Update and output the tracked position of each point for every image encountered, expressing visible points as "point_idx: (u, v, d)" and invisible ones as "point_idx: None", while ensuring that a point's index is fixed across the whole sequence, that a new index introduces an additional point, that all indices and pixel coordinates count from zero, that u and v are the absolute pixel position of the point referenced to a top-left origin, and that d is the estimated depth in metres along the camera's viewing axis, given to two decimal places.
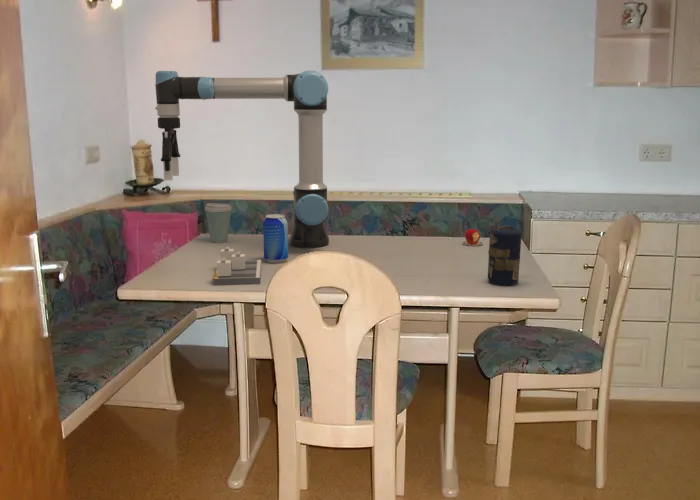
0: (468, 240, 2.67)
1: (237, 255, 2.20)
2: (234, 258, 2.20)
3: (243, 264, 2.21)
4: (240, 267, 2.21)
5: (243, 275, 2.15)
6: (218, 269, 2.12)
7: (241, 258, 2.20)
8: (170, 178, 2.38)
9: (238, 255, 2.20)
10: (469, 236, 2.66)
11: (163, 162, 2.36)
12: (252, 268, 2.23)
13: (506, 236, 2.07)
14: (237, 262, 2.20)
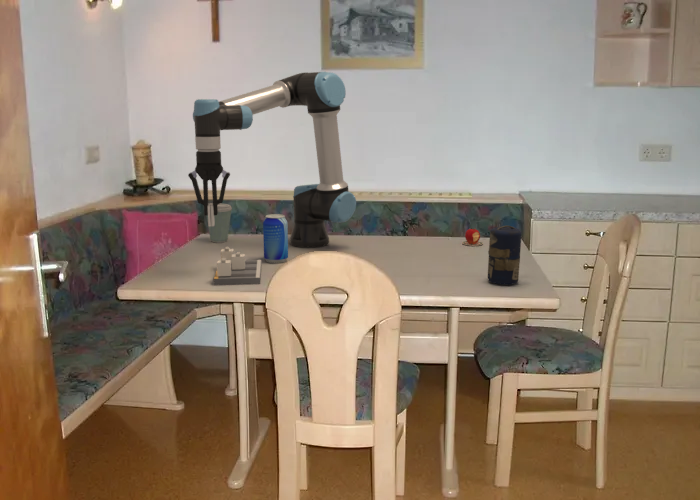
0: (468, 240, 2.67)
1: (237, 255, 2.20)
2: (234, 258, 2.20)
3: (243, 264, 2.21)
4: (240, 267, 2.21)
5: (243, 275, 2.15)
6: (218, 269, 2.12)
7: (241, 258, 2.20)
8: None
9: (238, 255, 2.20)
10: (469, 236, 2.66)
11: None
12: (252, 268, 2.23)
13: (506, 236, 2.07)
14: (237, 262, 2.20)
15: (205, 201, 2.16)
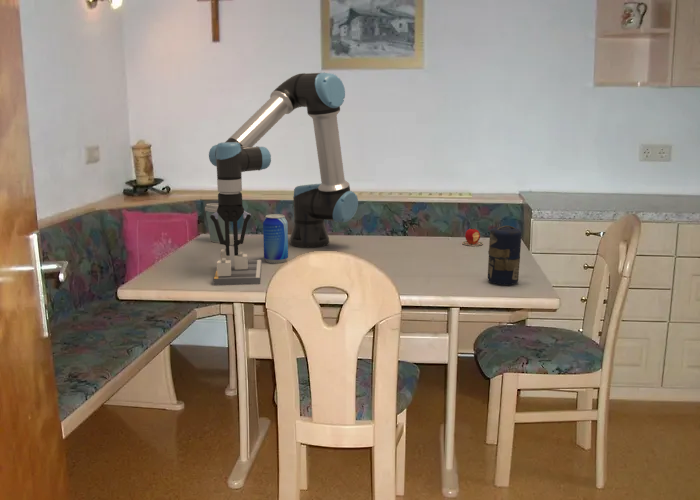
0: (468, 240, 2.67)
1: (240, 255, 2.20)
2: (237, 258, 2.20)
3: (246, 264, 2.21)
4: (243, 267, 2.21)
5: (243, 275, 2.15)
6: (218, 269, 2.12)
7: (244, 258, 2.20)
8: None
9: (241, 255, 2.20)
10: (469, 236, 2.66)
11: None
12: (252, 268, 2.23)
13: (506, 236, 2.07)
14: (240, 262, 2.21)
15: (227, 242, 2.19)
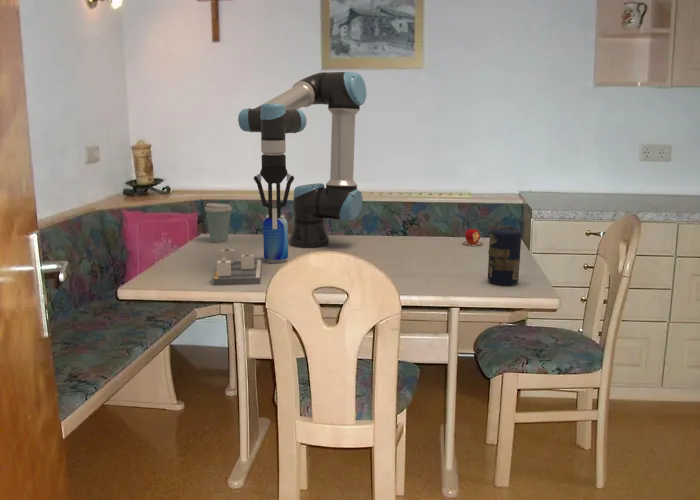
0: (468, 240, 2.67)
1: (246, 255, 2.20)
2: (243, 258, 2.20)
3: (252, 264, 2.21)
4: (249, 267, 2.21)
5: (243, 275, 2.15)
6: (218, 269, 2.12)
7: (250, 258, 2.21)
8: None
9: (247, 255, 2.20)
10: (469, 236, 2.66)
11: None
12: None
13: (506, 236, 2.07)
14: (246, 262, 2.21)
15: (270, 204, 2.18)
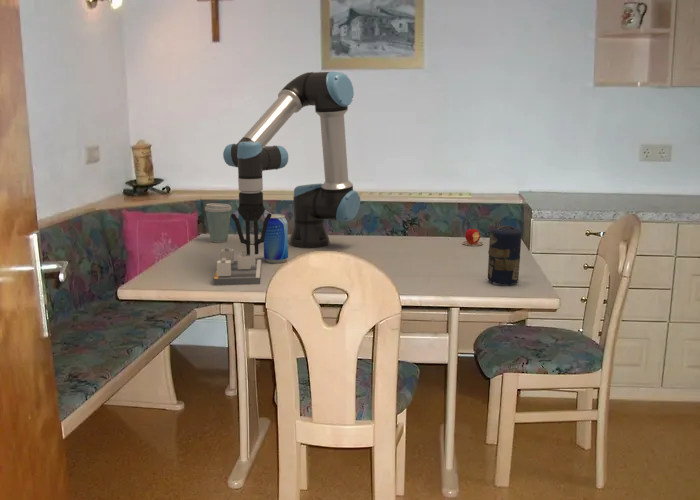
0: (468, 240, 2.67)
1: (243, 255, 2.20)
2: (240, 258, 2.20)
3: (249, 264, 2.21)
4: (246, 267, 2.21)
5: (243, 275, 2.15)
6: (218, 269, 2.12)
7: (247, 258, 2.21)
8: None
9: (244, 255, 2.20)
10: (469, 236, 2.66)
11: None
12: (252, 268, 2.23)
13: (506, 236, 2.07)
14: (243, 262, 2.21)
15: (247, 241, 2.20)
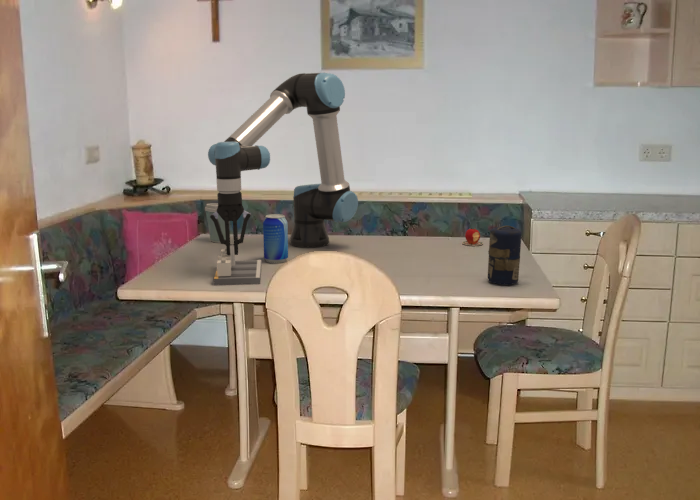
0: (468, 240, 2.67)
1: (223, 255, 2.20)
2: (220, 258, 2.20)
3: None
4: None
5: (243, 275, 2.15)
6: (218, 269, 2.12)
7: (227, 258, 2.20)
8: None
9: (224, 255, 2.20)
10: (469, 236, 2.66)
11: (230, 245, 2.22)
12: (252, 268, 2.23)
13: (506, 236, 2.07)
14: None
15: (227, 241, 2.19)
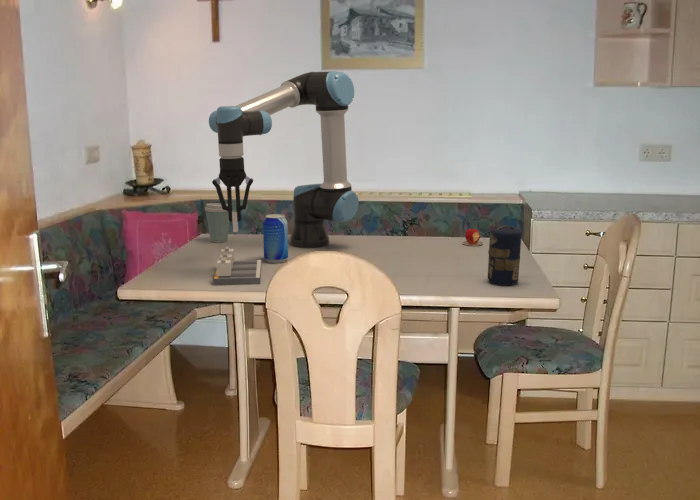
0: (468, 240, 2.67)
1: (224, 255, 2.20)
2: (221, 258, 2.20)
3: None
4: None
5: (243, 275, 2.15)
6: (218, 269, 2.12)
7: (228, 258, 2.20)
8: (233, 229, 2.19)
9: (225, 255, 2.20)
10: (469, 236, 2.66)
11: None
12: (252, 268, 2.23)
13: (506, 236, 2.07)
14: None
15: (229, 207, 2.17)
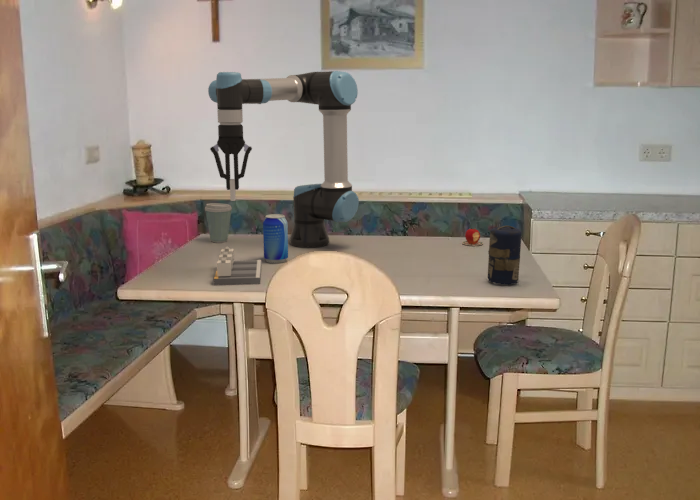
0: (468, 240, 2.67)
1: (224, 255, 2.20)
2: (221, 258, 2.20)
3: None
4: None
5: (243, 275, 2.15)
6: (218, 269, 2.12)
7: (228, 258, 2.20)
8: None
9: (225, 255, 2.20)
10: (469, 236, 2.66)
11: None
12: (252, 268, 2.23)
13: (506, 236, 2.07)
14: None
15: (227, 175, 2.15)
